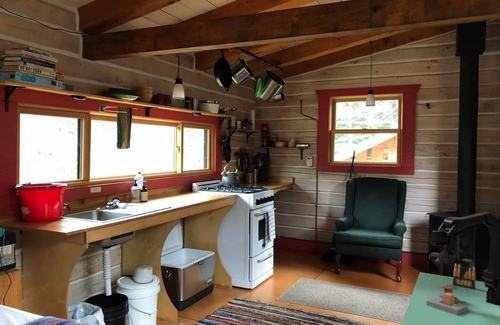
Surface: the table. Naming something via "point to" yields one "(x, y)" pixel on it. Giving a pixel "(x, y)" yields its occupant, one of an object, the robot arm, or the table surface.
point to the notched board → (447, 306)
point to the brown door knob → (448, 291)
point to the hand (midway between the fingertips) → (450, 278)
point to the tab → (448, 299)
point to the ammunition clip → (464, 278)
